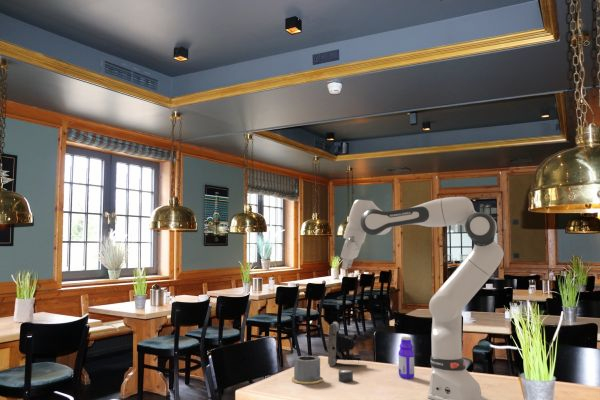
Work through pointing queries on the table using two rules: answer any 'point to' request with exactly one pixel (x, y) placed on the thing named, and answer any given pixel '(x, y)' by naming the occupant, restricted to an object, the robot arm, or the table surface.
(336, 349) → the vintage camera
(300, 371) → the lens barrel
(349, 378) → the camera lens
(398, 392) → the table surface
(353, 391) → the table surface
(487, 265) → the robot arm
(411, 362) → the bottle
